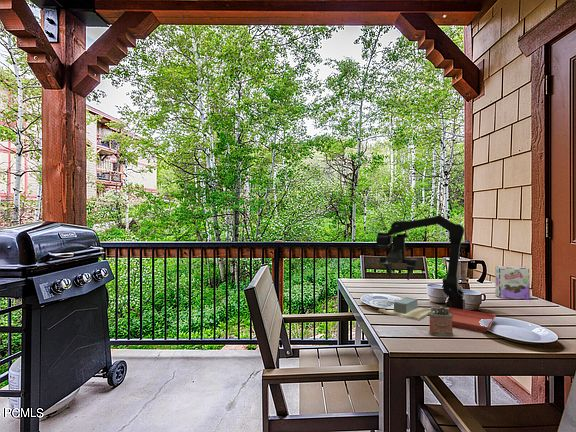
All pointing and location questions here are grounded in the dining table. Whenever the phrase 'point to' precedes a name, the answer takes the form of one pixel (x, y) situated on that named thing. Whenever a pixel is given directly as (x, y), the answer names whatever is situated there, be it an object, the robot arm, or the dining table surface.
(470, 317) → the red flat slab
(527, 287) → the candy box
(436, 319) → the reddish brown box
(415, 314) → the birch board
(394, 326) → the dining table surface
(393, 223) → the robot arm
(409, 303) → the slate block
